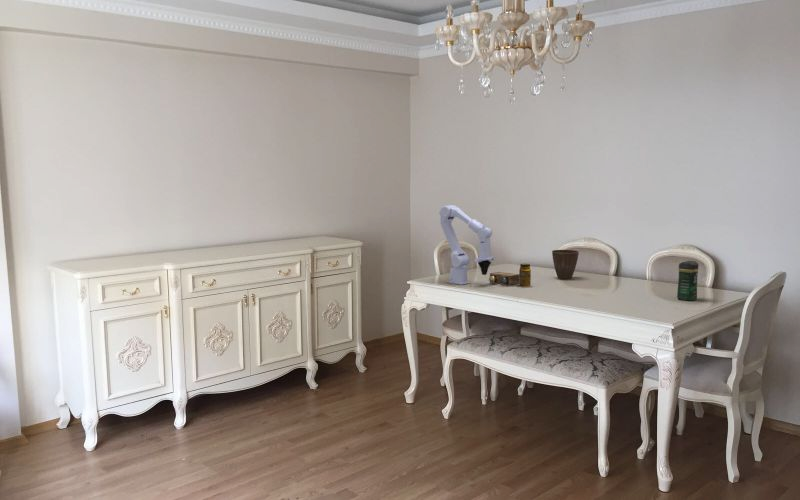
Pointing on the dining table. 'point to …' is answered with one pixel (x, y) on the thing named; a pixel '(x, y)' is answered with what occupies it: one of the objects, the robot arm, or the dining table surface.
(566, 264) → the plant pot
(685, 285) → the coffee jar
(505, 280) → the black knob
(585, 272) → the dining table surface
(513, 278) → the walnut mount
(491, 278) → the brass knob
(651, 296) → the dining table surface
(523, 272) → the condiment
